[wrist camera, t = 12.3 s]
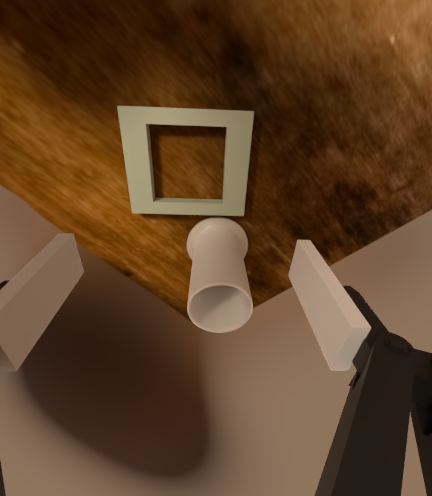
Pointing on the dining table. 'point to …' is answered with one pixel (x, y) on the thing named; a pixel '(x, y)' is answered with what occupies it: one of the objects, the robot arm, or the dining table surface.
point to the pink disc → (217, 222)
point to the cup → (219, 282)
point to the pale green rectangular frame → (235, 121)
